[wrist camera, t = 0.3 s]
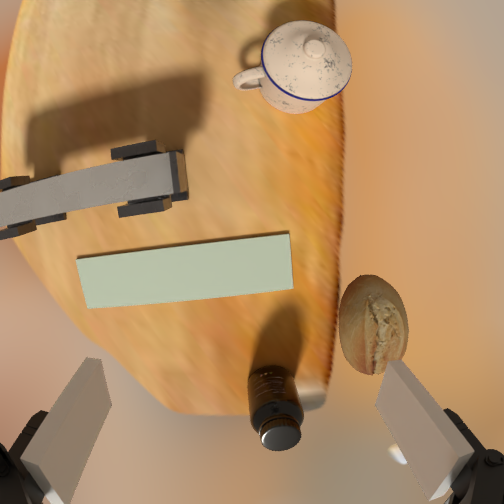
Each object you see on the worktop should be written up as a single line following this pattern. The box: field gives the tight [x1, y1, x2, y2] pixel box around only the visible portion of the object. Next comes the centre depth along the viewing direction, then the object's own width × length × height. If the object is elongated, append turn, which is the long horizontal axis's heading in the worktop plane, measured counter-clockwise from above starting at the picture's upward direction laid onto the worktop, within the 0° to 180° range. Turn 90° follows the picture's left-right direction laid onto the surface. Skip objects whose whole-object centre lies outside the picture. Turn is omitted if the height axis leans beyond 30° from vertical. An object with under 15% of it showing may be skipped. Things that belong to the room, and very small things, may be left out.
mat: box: [76, 234, 293, 309], centre depth 39 cm, size 7×28×1 cm, turn 96°
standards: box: [0, 140, 188, 240], centre depth 31 cm, size 6×23×10 cm, turn 96°
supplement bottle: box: [248, 366, 304, 451], centre depth 38 cm, size 7×7×12 cm
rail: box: [0, 151, 188, 227], centre depth 27 cm, size 4×25×4 cm, turn 96°
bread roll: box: [339, 275, 409, 375], centre depth 39 cm, size 10×15×8 cm, turn 19°
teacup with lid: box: [233, 20, 352, 114], centre depth 29 cm, size 12×9×12 cm
